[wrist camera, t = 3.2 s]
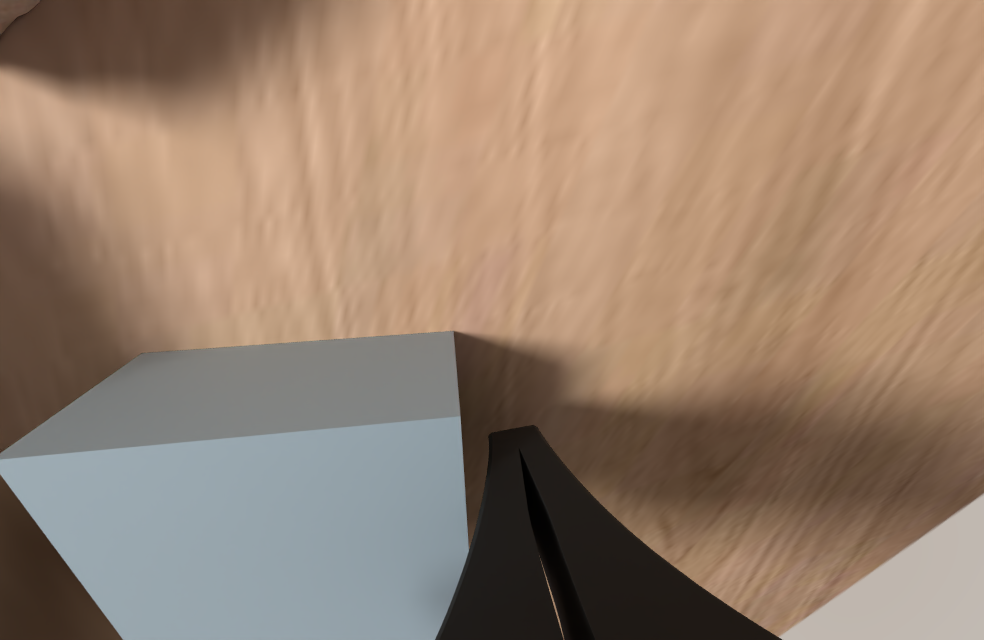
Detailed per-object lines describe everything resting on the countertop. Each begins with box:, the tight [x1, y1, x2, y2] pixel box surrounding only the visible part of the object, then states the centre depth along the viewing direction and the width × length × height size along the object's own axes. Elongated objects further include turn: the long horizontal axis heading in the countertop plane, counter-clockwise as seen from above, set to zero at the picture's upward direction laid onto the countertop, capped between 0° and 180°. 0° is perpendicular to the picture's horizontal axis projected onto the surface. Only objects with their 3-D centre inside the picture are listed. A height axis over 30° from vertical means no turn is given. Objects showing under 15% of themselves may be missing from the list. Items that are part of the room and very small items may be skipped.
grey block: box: [0, 331, 469, 640], centre depth 10 cm, size 8×8×4 cm
